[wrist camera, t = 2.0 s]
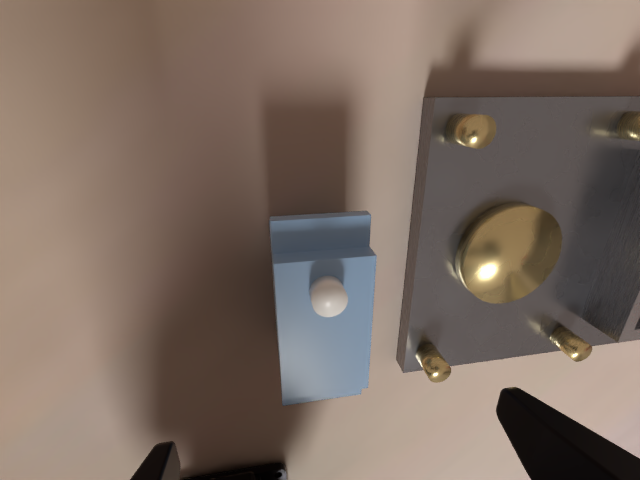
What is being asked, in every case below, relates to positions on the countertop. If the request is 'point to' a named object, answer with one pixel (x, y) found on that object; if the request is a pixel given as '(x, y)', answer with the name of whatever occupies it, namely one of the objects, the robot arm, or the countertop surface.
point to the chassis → (522, 230)
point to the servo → (323, 303)
